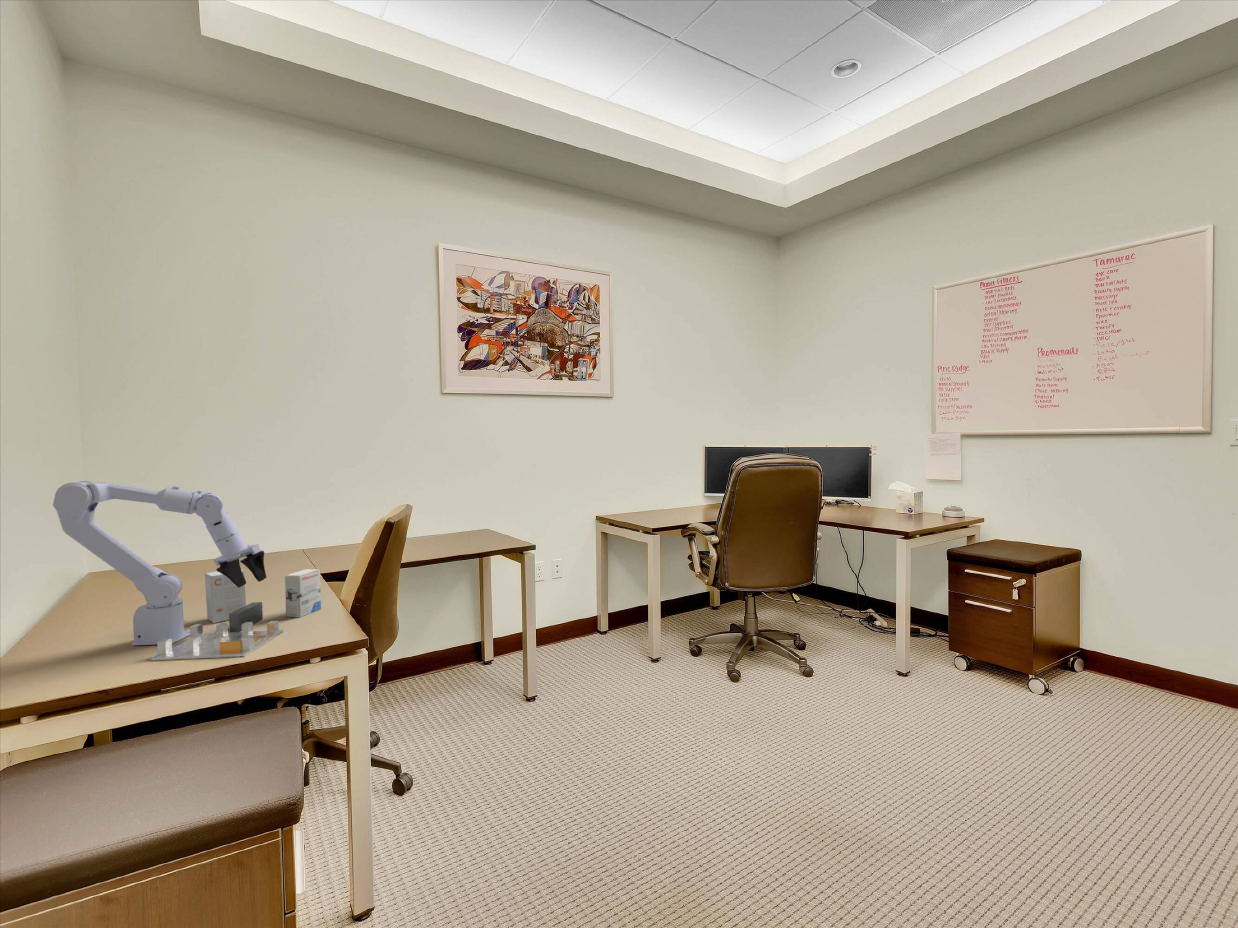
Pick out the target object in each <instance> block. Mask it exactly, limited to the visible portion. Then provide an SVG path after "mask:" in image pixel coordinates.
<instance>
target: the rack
mask: <svg viewBox="0 0 1238 928" xmlns="http://www.w3.org/2000/svg"><path fill="white" fill-rule="evenodd" d="M203 626H204V625H203V623H195V624H193V625H190V626H189V632H190V635H189V638H188V639H187V640H186V641H183V642H181V643H179V644H178V645H175V646H173V643H172V638H171V639H162V640H160V641H158V642H157V644H156V645H157V655H155V656H153V657H151V661H152V662H153V661H155V662H156V661H175V660H197V659H218V658H219V659H220V658H221V659H222V658H240V656H245V657H246V656H248V655H249V654H251V653H253V652H254V651H255V650H257V649H260V648H261V647H262V646H264V645H265V644H267V643H269V642H270V641H272V640H273V639H275V638H277V637H278V636H281V634H283V633H284V630H282V629H281V630H280V628H279V627H280V626H279V620H272V621H268V622H267V623H266V630H256V631H254V630H253V627H254V625H253V622H246V623H244V624H242V631H241V632H230V631H229V630H228V629H229V622H220V623H219V624H217V625H215V627H216V632H207V633H205V632H204V630H203V629H204V627H203Z"/></svg>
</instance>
